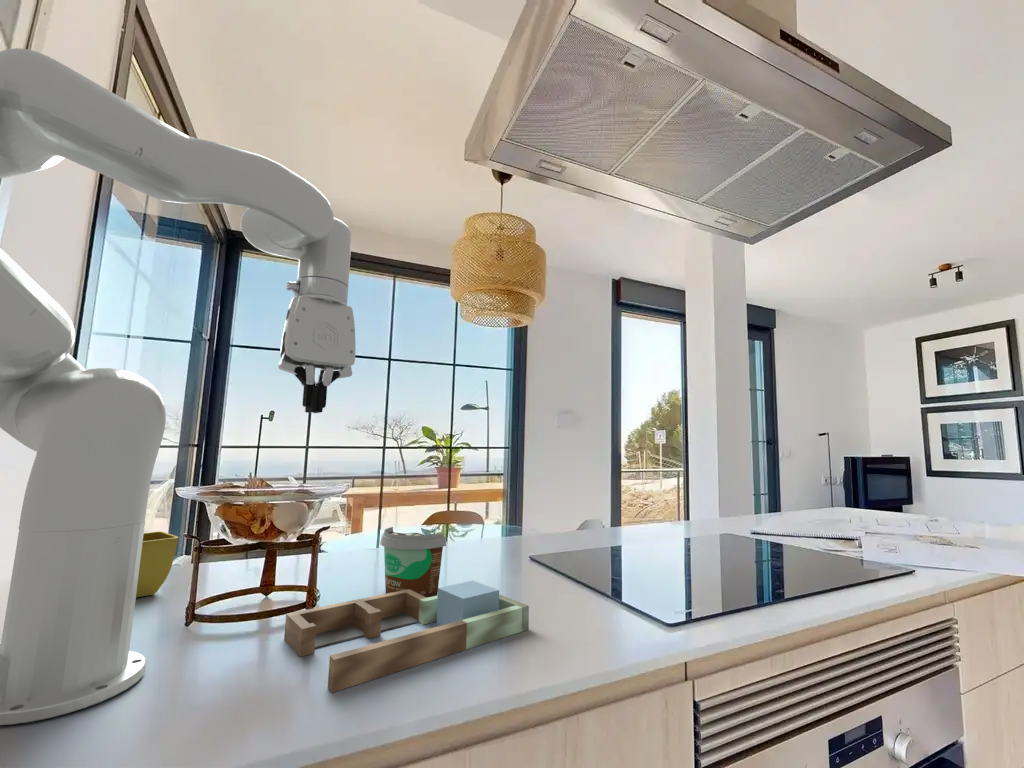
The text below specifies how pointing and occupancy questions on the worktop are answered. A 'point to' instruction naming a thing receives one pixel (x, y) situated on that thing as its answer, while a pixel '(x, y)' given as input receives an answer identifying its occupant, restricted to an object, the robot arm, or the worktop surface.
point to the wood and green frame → (399, 652)
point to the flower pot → (155, 561)
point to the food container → (412, 561)
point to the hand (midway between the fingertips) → (313, 412)
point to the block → (465, 601)
